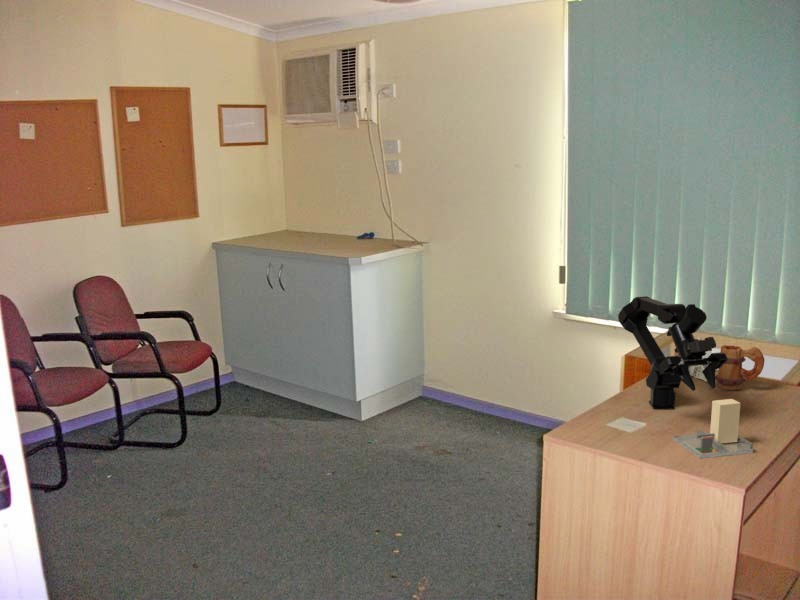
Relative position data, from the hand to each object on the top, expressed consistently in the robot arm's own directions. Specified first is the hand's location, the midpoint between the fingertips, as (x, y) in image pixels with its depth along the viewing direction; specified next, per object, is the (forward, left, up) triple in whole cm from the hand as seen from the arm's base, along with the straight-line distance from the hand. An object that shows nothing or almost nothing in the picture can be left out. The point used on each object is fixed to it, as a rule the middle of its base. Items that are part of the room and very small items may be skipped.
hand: (704, 389), depth 210 cm
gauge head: (0, -10, -11) cm, 15 cm away
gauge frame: (-1, -11, -13) cm, 16 cm away
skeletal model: (+13, +50, -13) cm, 53 cm away
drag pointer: (-4, -16, -11) cm, 20 cm away
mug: (+23, +37, -13) cm, 45 cm away
